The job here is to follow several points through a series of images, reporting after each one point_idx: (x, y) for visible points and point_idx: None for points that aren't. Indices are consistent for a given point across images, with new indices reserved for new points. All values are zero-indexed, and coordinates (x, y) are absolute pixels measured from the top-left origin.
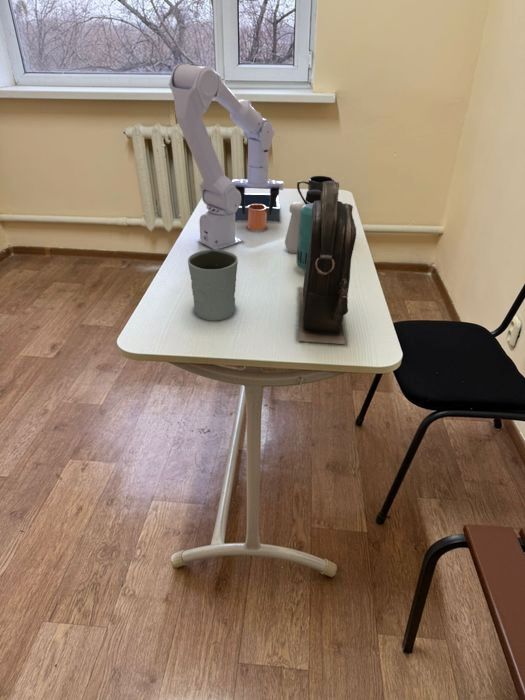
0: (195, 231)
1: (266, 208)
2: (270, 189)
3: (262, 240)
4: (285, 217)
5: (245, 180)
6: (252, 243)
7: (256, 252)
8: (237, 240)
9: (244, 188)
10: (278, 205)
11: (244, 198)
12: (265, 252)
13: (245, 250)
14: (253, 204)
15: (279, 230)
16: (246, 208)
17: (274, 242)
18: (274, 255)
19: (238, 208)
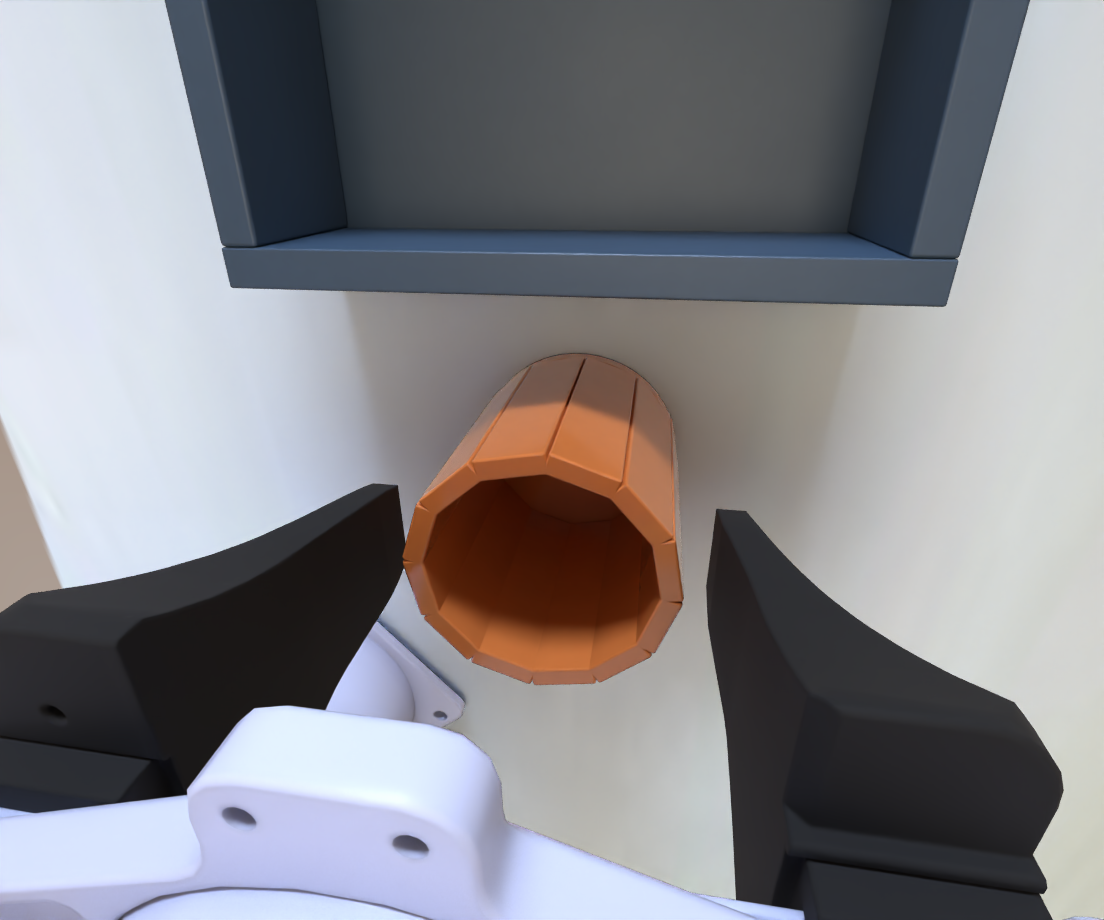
0: (83, 504)
1: (676, 609)
2: (777, 893)
3: (624, 681)
4: (1042, 11)
5: (18, 873)
6: (546, 717)
7: (576, 824)
8: (432, 710)
9: (179, 789)
10: (972, 137)
11: (300, 675)
12: (635, 831)
13: (504, 795)
14: (476, 480)
15: (817, 496)
16: (395, 290)
17: (719, 718)
18: (691, 867)
19: (285, 287)
